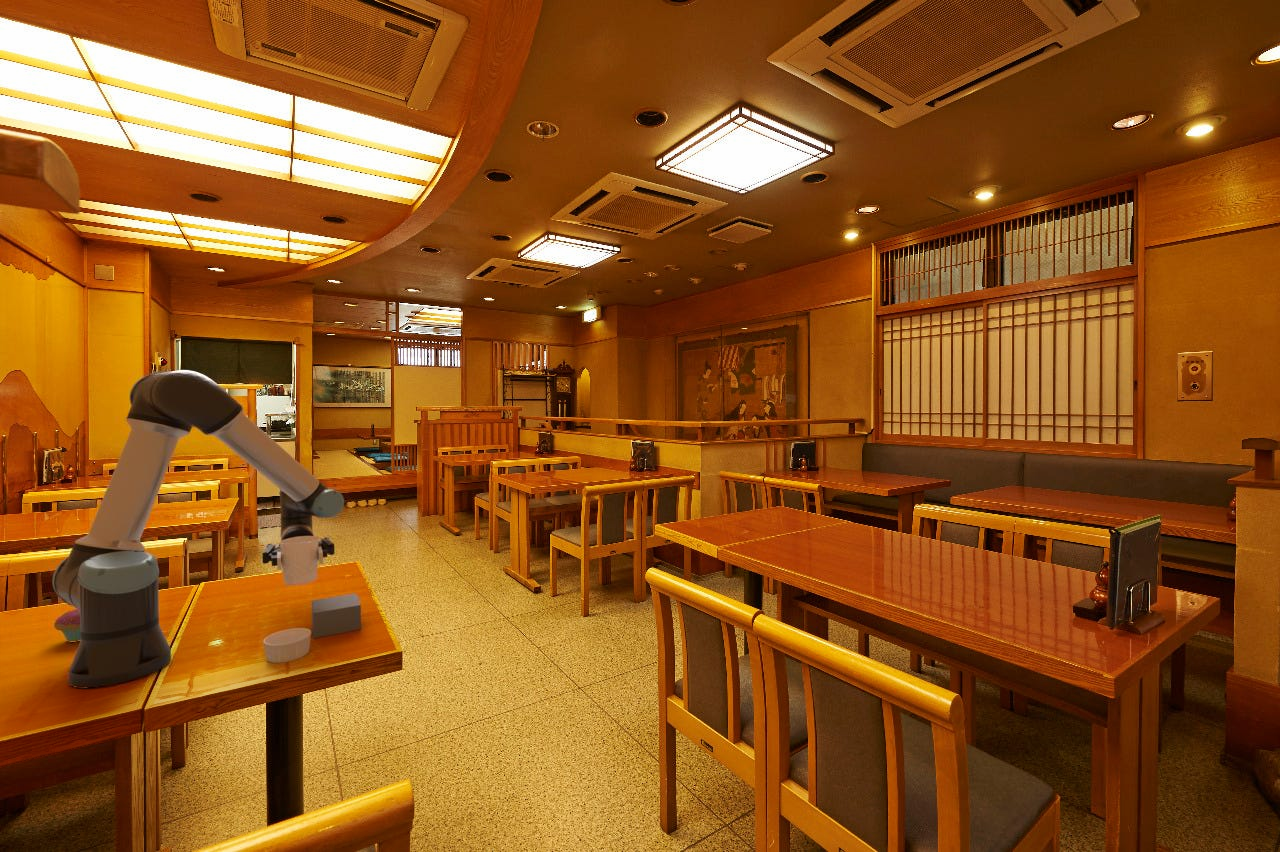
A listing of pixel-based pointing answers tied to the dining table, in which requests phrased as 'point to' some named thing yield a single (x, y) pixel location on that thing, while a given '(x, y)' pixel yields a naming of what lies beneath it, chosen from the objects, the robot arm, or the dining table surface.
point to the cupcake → (69, 625)
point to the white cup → (299, 559)
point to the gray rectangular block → (336, 615)
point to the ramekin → (287, 645)
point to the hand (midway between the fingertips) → (300, 560)
